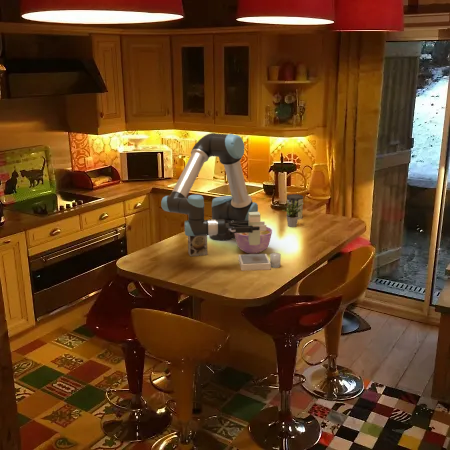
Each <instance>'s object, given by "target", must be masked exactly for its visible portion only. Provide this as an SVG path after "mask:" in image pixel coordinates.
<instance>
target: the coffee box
mask: <svg viewBox="0 0 450 450" xmlns="http://www.w3.org/2000/svg"><path fill="white" fill-rule="evenodd" d="M187 251H188V252H187V253H188V255H189V256H190V257H199V255H200V256H207V255H208V236H187Z"/></svg>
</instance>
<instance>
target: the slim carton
mask: <svg viewBox="0 0 450 450" xmlns="http://www.w3.org/2000/svg"><path fill="white" fill-rule="evenodd" d="M248 220H249V226H253V225H260V222H261V213H260V211H258V212H249V215H248ZM248 242H249V244H250V245H260V231H253V233H248Z"/></svg>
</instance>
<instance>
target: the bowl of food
mask: <svg viewBox="0 0 450 450" xmlns="http://www.w3.org/2000/svg"><path fill="white" fill-rule="evenodd" d="M234 234H235V238H234V239H235V241H236V244H237V247H238V248H239V249H240V250H241V251H243V252H245V253H246V254H261V252H263V251H265V250H266V249H268V246H270V245H269V244H270V241H271V238H272V234H273V229H272V228H271V227H268V226H266V231H260V245H250V244H249V242H248V233H234Z"/></svg>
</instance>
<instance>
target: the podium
mask: <svg viewBox="0 0 450 450" xmlns="http://www.w3.org/2000/svg"><path fill="white" fill-rule="evenodd" d="M238 263H239V267H240V270H241V271H242V272H244V271H265V270H267V271H269V270H271V268H272V267H271V263H270V258H269V257H268V254H267V253H257V254H249V253H246V254H238Z"/></svg>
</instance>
